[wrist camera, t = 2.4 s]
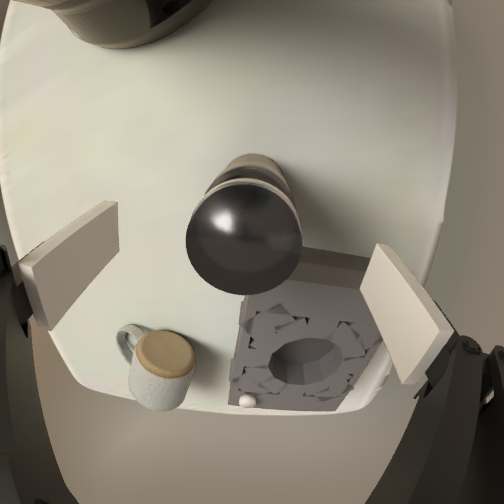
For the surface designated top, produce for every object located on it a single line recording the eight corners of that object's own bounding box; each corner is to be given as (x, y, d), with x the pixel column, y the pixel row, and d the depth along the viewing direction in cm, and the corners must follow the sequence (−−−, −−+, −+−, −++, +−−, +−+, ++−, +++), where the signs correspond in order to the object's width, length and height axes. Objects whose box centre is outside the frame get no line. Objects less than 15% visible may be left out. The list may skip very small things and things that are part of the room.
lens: (224, 147, 22) (186, 178, 11) (291, 158, 22) (318, 199, 11) (216, 209, 24) (180, 287, 14) (279, 219, 24) (290, 304, 14)
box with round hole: (251, 238, 25) (247, 279, 19) (385, 261, 26) (413, 301, 20) (229, 365, 34) (224, 409, 28) (330, 375, 34) (338, 416, 28)
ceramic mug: (204, 337, 31) (190, 389, 25) (190, 374, 35) (178, 420, 28) (121, 306, 30) (93, 351, 23) (119, 348, 34) (98, 389, 27)
